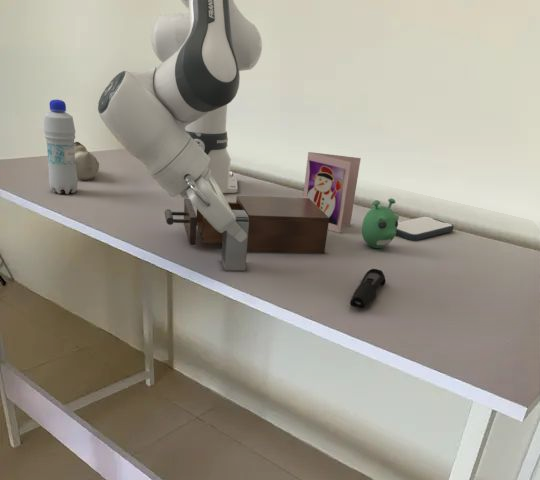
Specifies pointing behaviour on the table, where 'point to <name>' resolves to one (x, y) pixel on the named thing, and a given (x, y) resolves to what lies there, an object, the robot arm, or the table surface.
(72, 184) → the bottle
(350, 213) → the greeting card
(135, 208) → the table surface
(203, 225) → the drawer
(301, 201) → the cabinet
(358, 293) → the electric trimmer
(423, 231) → the phone case
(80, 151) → the ceramic sculpture
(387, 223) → the alien toy
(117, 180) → the table surface
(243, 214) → the grey block
